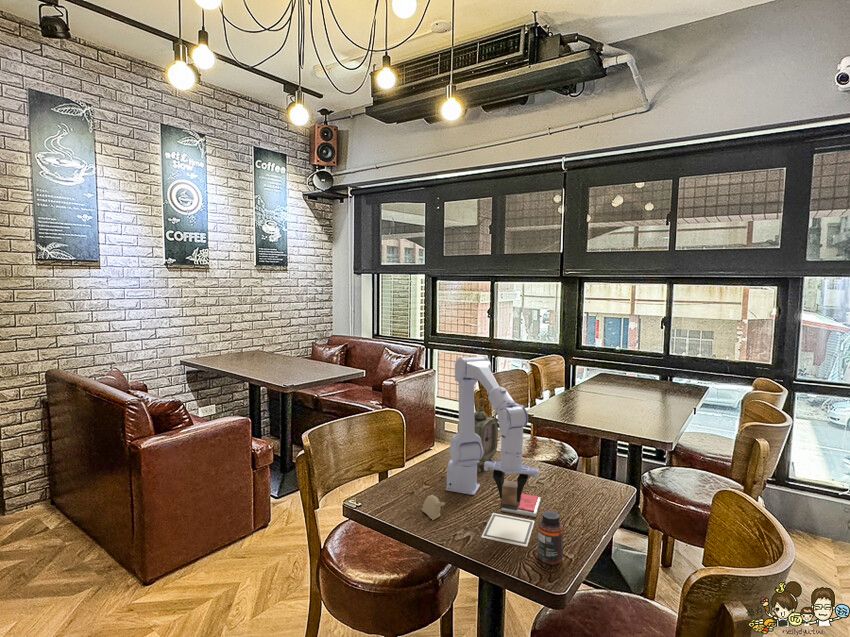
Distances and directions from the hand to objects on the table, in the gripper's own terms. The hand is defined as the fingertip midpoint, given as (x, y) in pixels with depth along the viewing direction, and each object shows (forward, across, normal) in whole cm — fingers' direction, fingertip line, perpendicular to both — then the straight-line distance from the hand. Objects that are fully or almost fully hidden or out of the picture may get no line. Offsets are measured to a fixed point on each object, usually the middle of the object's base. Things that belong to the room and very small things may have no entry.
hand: (510, 498), depth 131 cm
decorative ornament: (+9, -22, 0) cm, 24 cm away
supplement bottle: (+9, +12, -10) cm, 18 cm away
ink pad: (+8, +1, +15) cm, 17 cm away
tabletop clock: (+9, -19, +40) cm, 45 cm away
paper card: (+8, 0, 0) cm, 8 cm away
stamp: (+2, 0, 0) cm, 2 cm away
